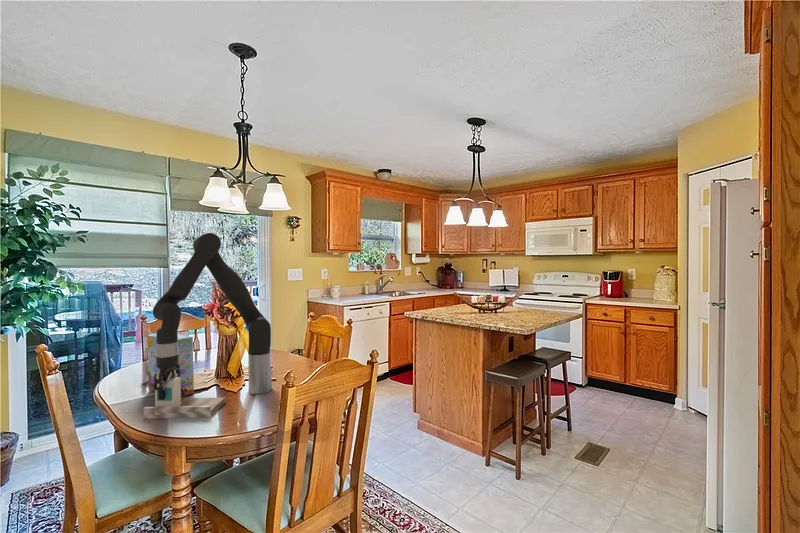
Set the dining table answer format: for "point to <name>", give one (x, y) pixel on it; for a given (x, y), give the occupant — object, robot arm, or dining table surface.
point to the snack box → (184, 360)
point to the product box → (170, 394)
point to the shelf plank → (186, 408)
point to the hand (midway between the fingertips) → (168, 395)
